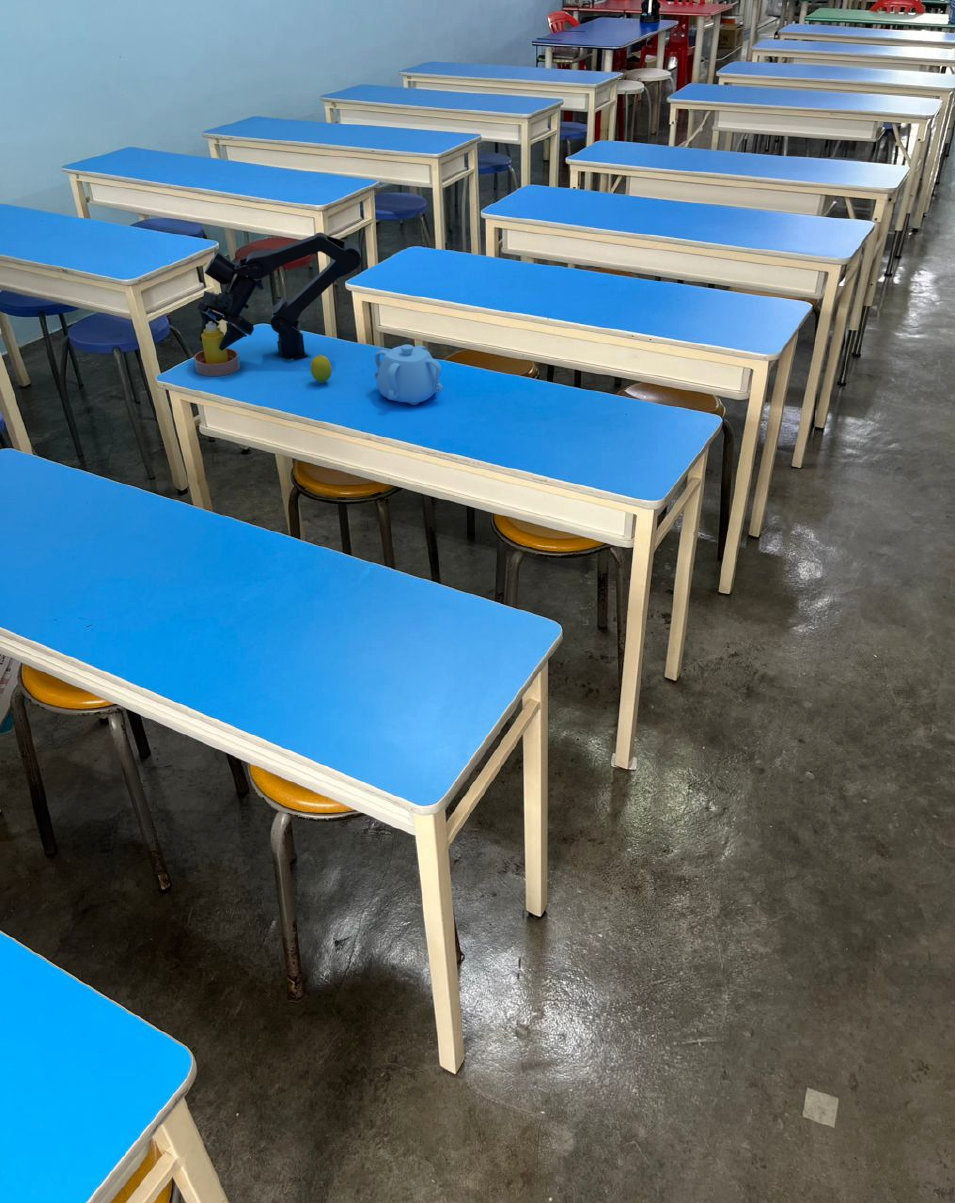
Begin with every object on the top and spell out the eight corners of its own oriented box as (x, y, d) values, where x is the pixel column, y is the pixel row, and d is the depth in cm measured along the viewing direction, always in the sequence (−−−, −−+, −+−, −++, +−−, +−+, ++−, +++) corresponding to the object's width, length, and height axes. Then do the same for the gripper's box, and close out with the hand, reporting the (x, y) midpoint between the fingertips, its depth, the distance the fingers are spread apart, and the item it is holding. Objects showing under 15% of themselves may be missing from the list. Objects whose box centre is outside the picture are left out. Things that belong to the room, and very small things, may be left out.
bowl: (229, 358, 268) (227, 344, 265) (247, 372, 260) (245, 358, 257) (189, 367, 262) (187, 353, 260) (206, 382, 254) (203, 368, 252)
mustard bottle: (223, 361, 264) (216, 316, 256) (232, 368, 260) (225, 322, 252) (203, 366, 261) (195, 320, 253) (212, 373, 257) (204, 327, 249)
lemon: (329, 388, 251) (326, 359, 247) (309, 386, 252) (306, 358, 248) (335, 380, 256) (333, 351, 251) (316, 378, 257) (313, 350, 252)
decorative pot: (433, 381, 256) (432, 332, 248) (445, 405, 243) (444, 355, 235) (374, 386, 253) (371, 337, 245) (383, 411, 240) (380, 360, 232)
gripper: (197, 271, 254) (169, 321, 254) (238, 287, 244) (208, 339, 244) (226, 293, 264) (199, 341, 264) (266, 309, 253) (238, 360, 254)
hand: (210, 345), depth 256 cm, fingers open, 9 cm apart
